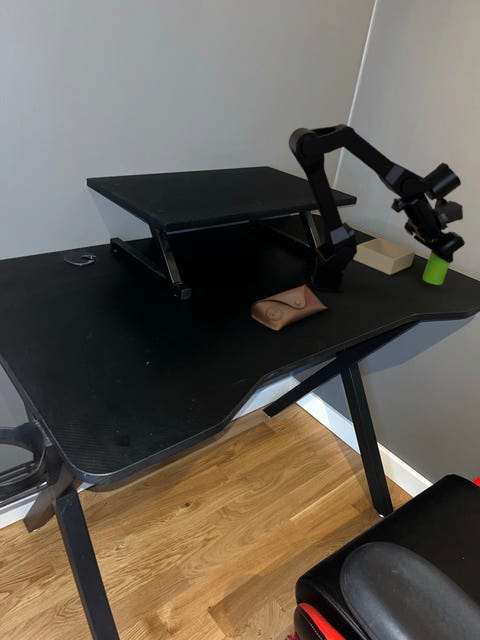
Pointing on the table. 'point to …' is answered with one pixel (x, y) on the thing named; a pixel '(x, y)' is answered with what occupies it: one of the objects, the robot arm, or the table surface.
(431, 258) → the drink can
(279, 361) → the table surface
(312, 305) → the sunglasses case
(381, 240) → the tote
